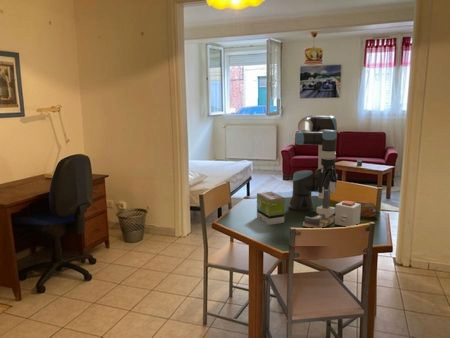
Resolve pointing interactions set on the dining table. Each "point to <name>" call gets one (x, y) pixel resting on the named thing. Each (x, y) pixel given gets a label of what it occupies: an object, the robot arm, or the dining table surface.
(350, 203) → the button
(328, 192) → the grey white tall piece
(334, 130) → the robot arm
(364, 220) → the dining table surface
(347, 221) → the cabinet
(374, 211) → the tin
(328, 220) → the rail board
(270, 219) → the tea box
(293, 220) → the dining table surface
